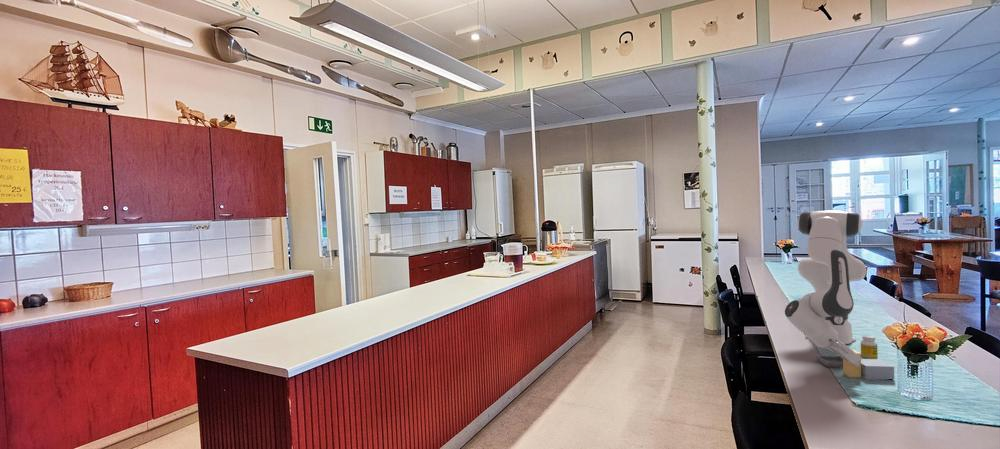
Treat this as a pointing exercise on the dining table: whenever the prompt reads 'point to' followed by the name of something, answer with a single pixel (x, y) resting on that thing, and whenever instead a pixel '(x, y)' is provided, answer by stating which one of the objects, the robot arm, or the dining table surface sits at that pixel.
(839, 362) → the dish
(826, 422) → the dining table surface
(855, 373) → the stub
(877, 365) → the block
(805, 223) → the robot arm
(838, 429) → the dining table surface
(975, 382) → the dining table surface
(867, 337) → the supplement bottle
